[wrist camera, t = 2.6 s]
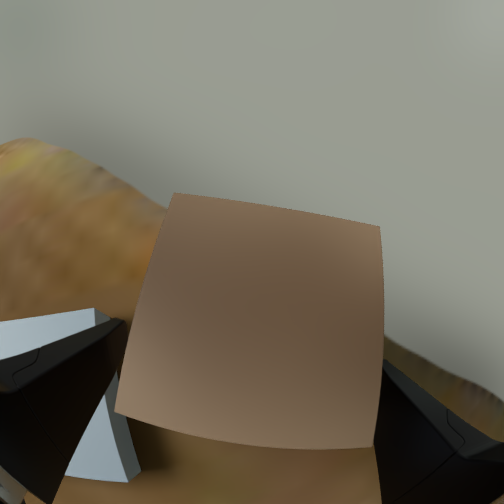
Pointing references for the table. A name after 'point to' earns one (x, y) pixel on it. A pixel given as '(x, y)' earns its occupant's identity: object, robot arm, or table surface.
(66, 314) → the slate base
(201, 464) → the table surface
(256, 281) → the walnut block
